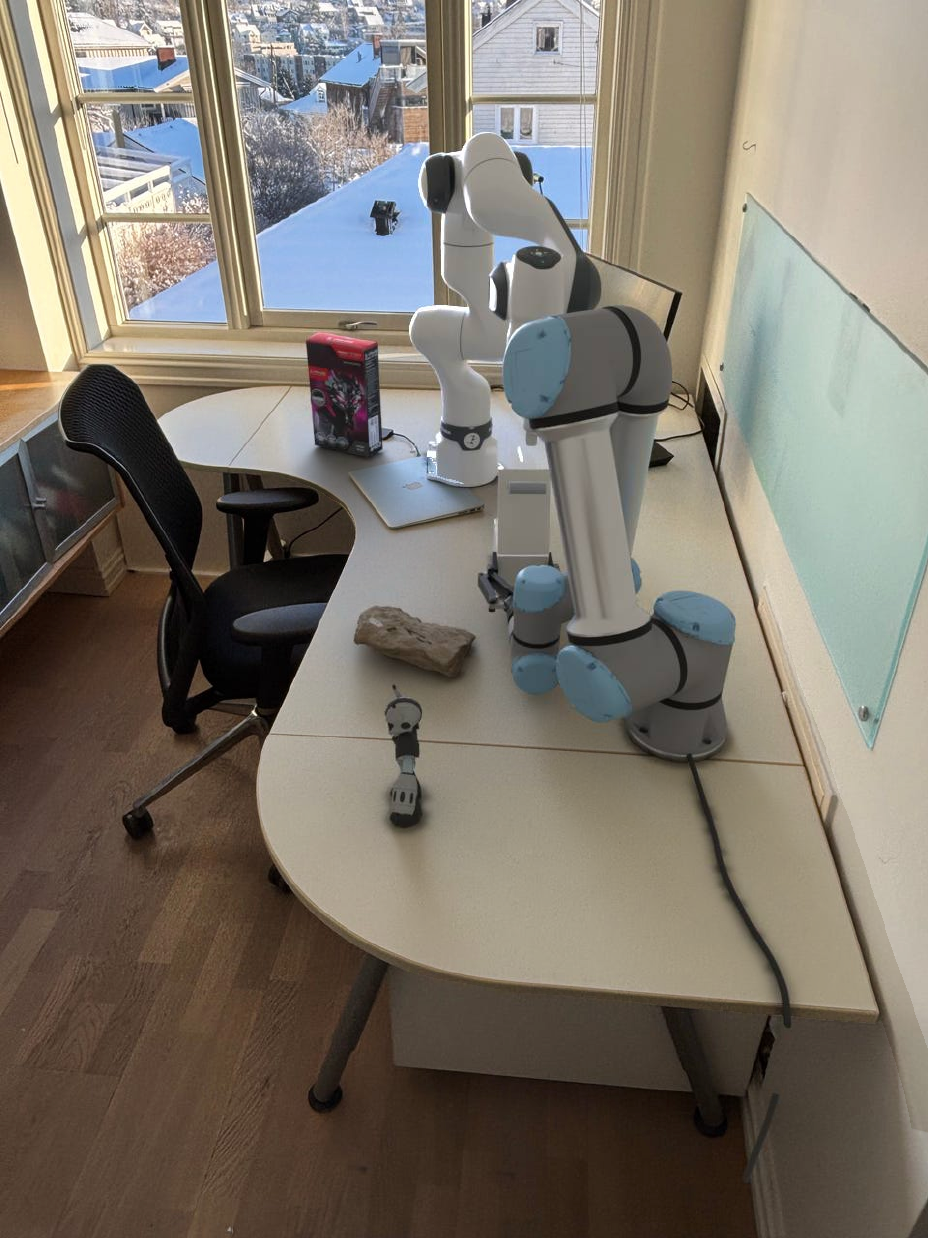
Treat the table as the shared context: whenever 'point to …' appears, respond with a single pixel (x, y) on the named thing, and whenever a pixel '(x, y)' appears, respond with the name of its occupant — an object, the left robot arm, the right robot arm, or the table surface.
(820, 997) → the table surface
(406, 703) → the robot
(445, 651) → the stone
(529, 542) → the lid
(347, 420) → the graphics card box
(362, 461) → the table surface
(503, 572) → the chest
